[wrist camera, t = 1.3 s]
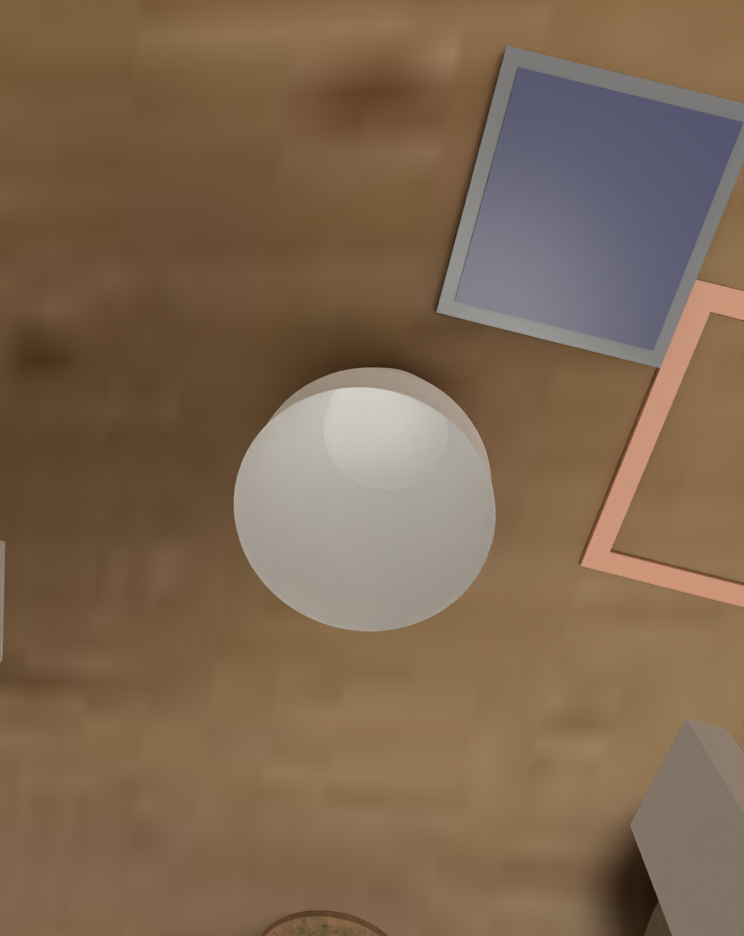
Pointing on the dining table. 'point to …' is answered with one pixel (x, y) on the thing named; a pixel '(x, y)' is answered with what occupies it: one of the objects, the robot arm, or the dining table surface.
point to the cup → (366, 500)
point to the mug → (322, 925)
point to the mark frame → (639, 451)
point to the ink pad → (591, 206)
